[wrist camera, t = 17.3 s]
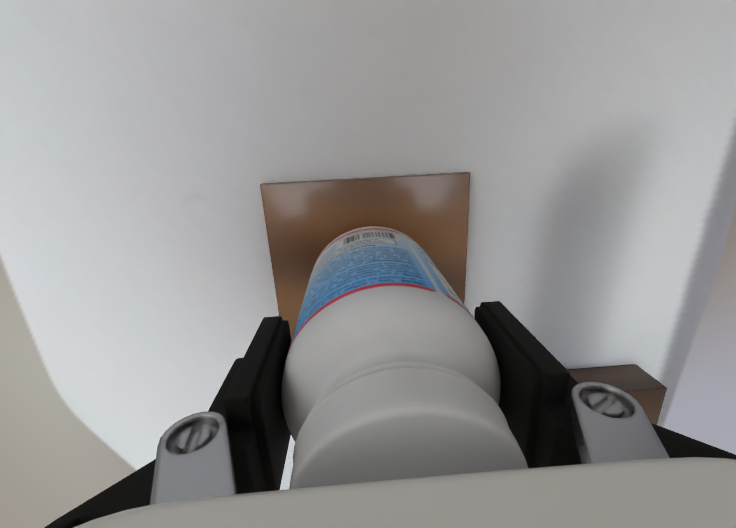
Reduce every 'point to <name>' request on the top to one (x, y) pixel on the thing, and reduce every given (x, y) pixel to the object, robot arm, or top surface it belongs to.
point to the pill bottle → (390, 371)
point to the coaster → (363, 224)
